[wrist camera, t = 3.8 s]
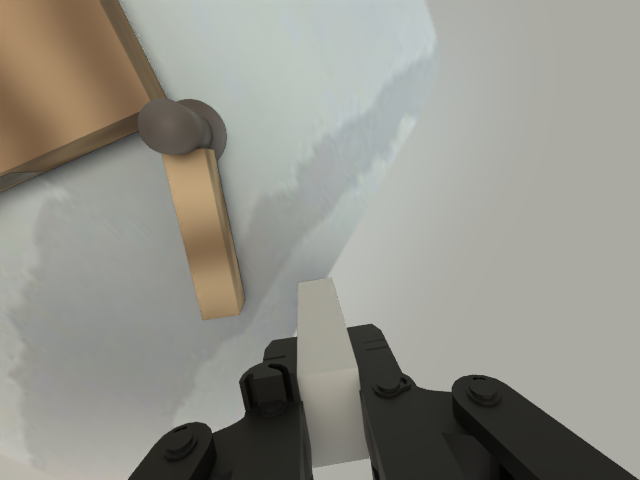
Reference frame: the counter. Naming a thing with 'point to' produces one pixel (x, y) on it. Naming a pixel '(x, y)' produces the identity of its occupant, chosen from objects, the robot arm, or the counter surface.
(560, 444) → the robot arm
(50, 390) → the counter surface
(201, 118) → the hinged leg
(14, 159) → the stool top
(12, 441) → the counter surface
